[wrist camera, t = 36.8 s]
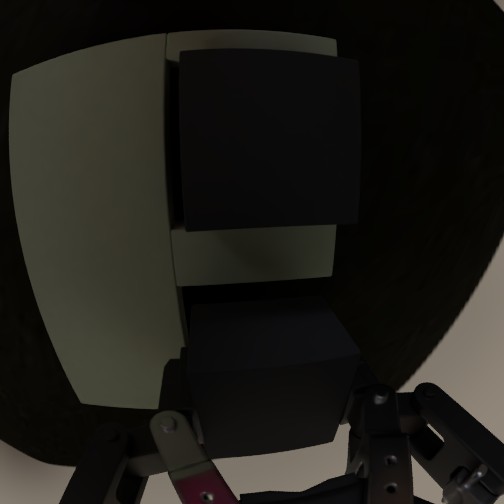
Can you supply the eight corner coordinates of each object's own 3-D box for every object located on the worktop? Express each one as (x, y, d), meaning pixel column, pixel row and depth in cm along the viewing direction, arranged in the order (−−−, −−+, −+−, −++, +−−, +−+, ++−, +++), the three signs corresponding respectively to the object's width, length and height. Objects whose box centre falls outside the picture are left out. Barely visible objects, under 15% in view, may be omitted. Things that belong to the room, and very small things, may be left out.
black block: (321, 294, 12) (362, 351, 8) (309, 383, 14) (333, 442, 10) (191, 303, 11) (185, 372, 8) (204, 393, 13) (207, 459, 10)
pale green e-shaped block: (324, 48, 10) (336, 38, 9) (306, 380, 16) (313, 397, 15) (28, 79, 9) (11, 74, 7) (87, 387, 15) (81, 403, 13)
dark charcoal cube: (316, 82, 11) (359, 60, 7) (317, 201, 13) (358, 224, 9) (189, 80, 10) (179, 50, 6) (193, 206, 12) (185, 232, 8)
